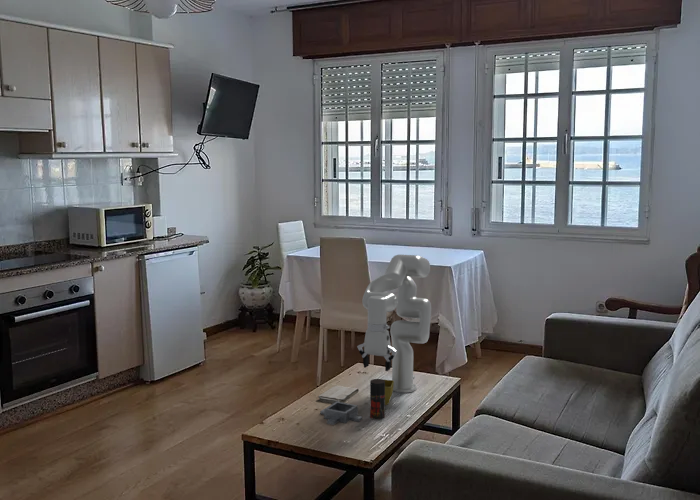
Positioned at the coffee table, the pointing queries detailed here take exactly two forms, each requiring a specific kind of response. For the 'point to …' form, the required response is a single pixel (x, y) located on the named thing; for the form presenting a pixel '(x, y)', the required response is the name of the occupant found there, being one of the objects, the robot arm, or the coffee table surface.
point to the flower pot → (388, 390)
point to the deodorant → (377, 399)
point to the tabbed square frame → (341, 413)
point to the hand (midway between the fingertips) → (376, 368)
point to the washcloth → (338, 394)
